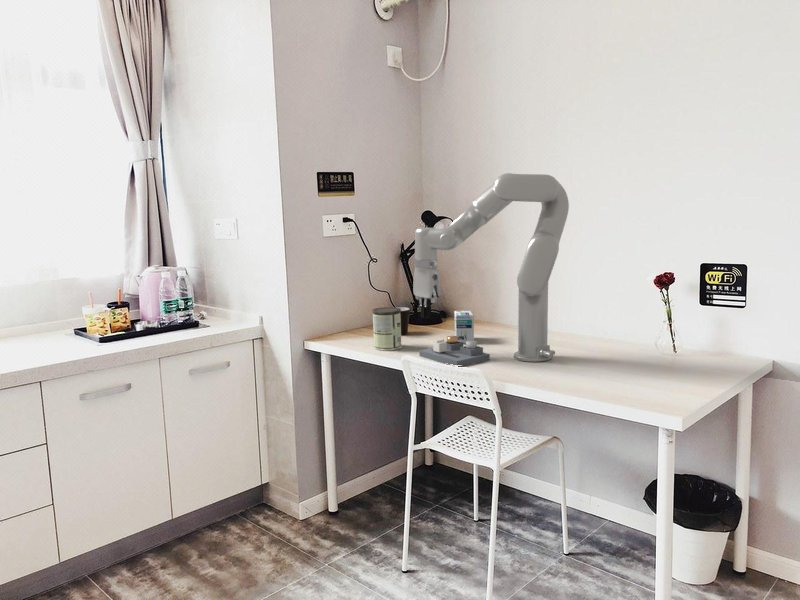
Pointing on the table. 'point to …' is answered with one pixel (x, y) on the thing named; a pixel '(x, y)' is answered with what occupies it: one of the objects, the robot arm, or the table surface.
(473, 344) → the grey button
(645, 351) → the table surface
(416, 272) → the robot arm
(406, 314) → the coffee mug
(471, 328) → the light bulb box
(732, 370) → the table surface
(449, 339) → the copper button
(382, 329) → the coffee can
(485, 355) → the panel
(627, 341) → the table surface
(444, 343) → the slider
